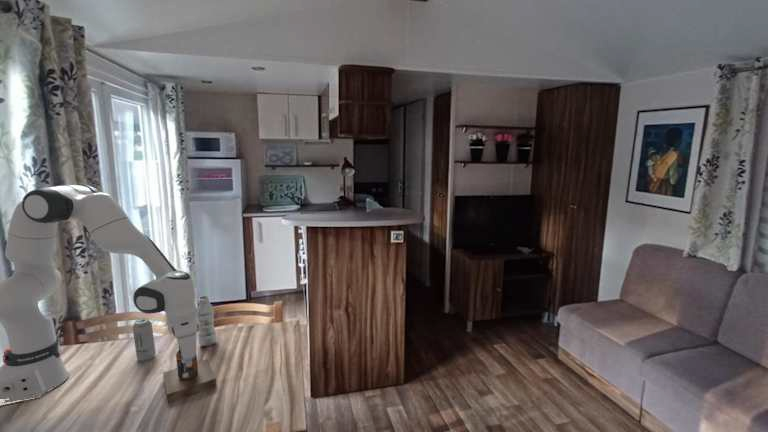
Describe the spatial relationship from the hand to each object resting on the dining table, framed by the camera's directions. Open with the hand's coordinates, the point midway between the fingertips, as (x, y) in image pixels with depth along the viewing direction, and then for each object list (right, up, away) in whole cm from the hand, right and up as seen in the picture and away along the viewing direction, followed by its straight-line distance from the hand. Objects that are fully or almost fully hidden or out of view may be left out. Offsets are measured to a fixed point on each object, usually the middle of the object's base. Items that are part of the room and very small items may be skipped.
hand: (186, 359), depth 124 cm
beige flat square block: (0, -9, +2) cm, 9 cm away
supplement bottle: (0, -6, +1) cm, 6 cm away
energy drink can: (-24, -6, +17) cm, 31 cm away
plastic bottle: (-6, -5, +27) cm, 28 cm away
